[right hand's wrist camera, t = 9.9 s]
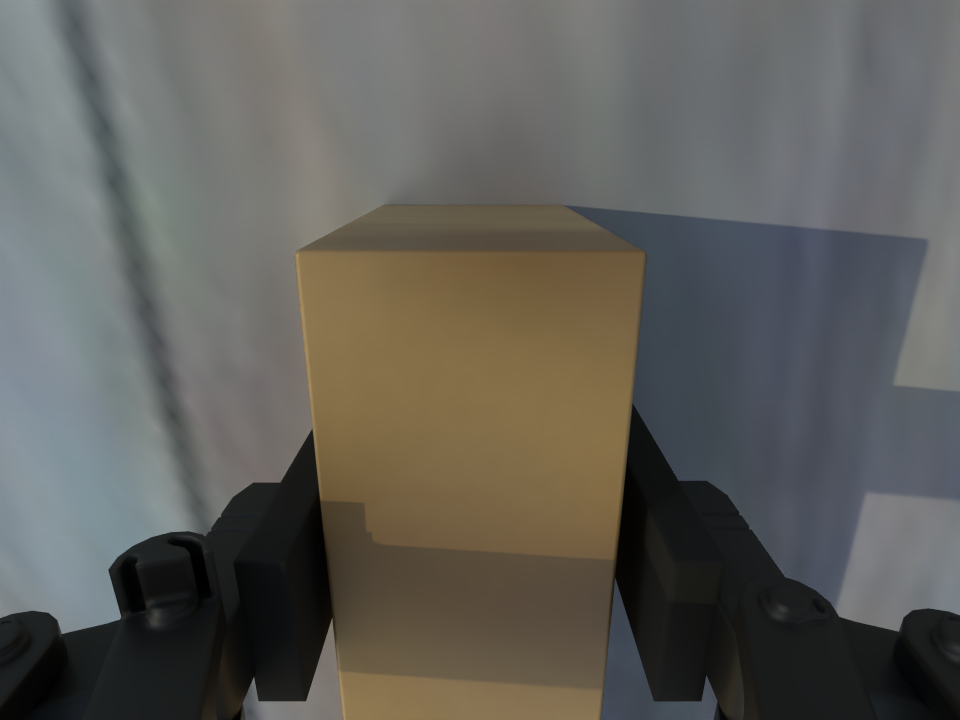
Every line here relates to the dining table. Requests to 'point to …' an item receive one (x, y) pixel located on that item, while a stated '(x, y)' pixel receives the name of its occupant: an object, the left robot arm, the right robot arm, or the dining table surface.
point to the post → (471, 454)
